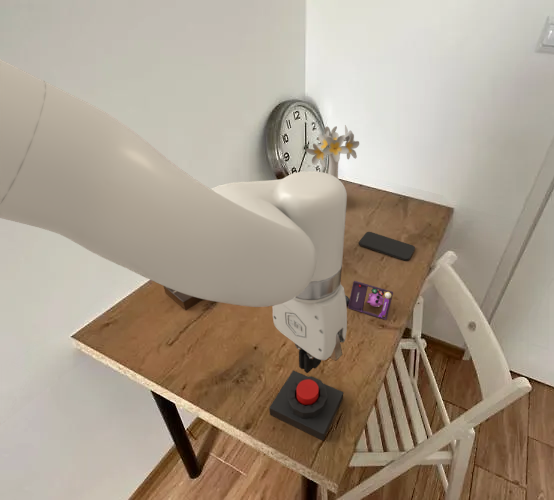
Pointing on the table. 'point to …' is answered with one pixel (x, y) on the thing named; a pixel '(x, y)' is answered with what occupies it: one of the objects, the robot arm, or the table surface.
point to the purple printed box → (369, 299)
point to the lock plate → (182, 298)
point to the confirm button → (307, 392)
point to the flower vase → (333, 148)
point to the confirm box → (307, 406)
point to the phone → (387, 246)
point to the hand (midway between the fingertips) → (310, 364)
